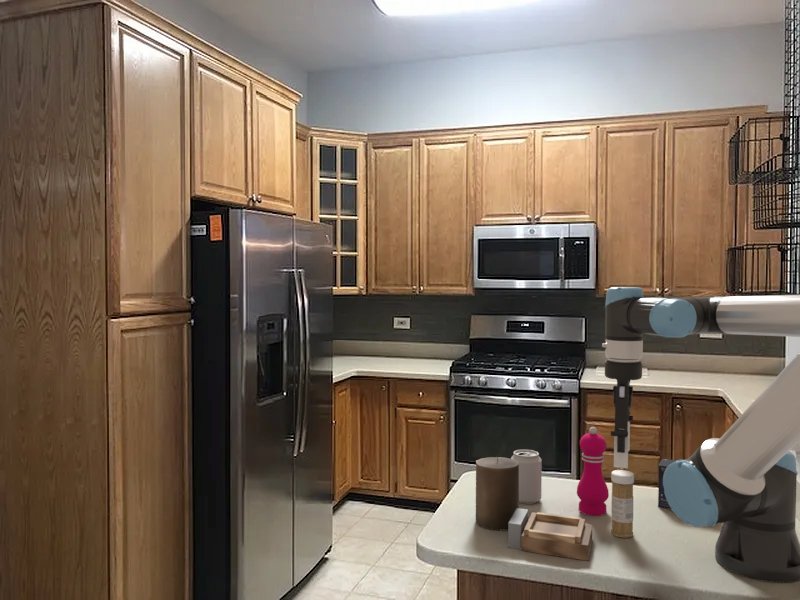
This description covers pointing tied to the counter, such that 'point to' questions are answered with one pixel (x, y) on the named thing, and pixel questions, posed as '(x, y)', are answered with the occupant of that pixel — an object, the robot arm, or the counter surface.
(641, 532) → the counter surface
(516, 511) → the backstop wall
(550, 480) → the counter surface
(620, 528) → the sprinkles bottle
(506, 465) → the pillar candle
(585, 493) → the pepper mill
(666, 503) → the small box
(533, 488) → the can
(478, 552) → the counter surface
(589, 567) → the counter surface
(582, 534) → the socket block
